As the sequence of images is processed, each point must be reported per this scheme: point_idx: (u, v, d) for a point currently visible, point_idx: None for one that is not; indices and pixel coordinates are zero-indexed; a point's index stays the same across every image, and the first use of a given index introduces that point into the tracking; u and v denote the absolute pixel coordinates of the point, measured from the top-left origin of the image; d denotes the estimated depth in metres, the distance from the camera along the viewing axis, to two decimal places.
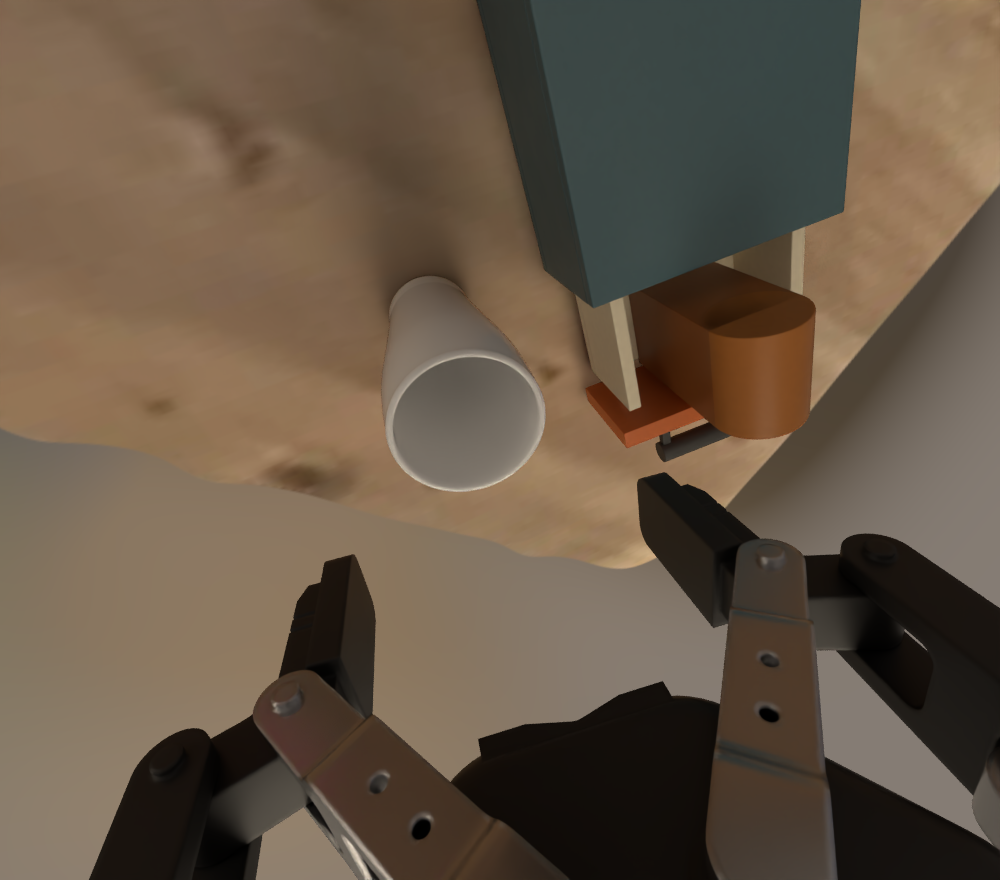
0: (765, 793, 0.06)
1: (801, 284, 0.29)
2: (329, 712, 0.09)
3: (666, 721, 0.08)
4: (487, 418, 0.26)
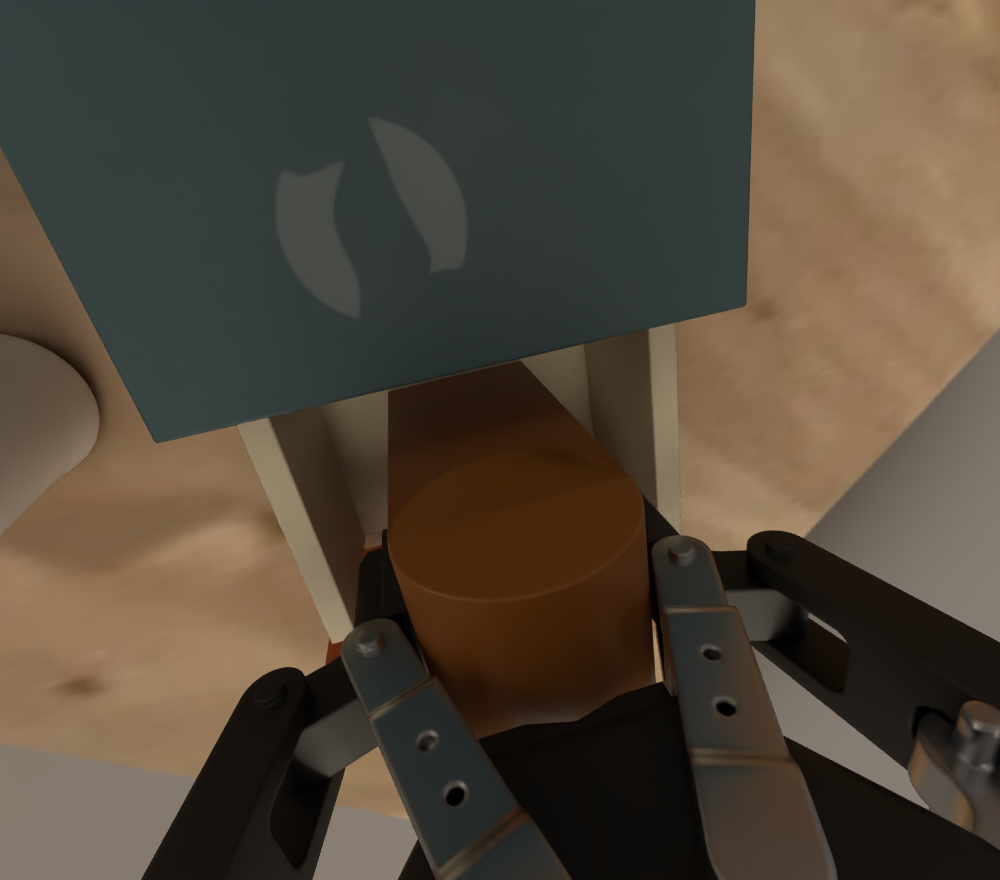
0: (748, 790, 0.06)
1: (675, 438, 0.15)
2: (401, 663, 0.09)
3: (666, 721, 0.08)
4: None
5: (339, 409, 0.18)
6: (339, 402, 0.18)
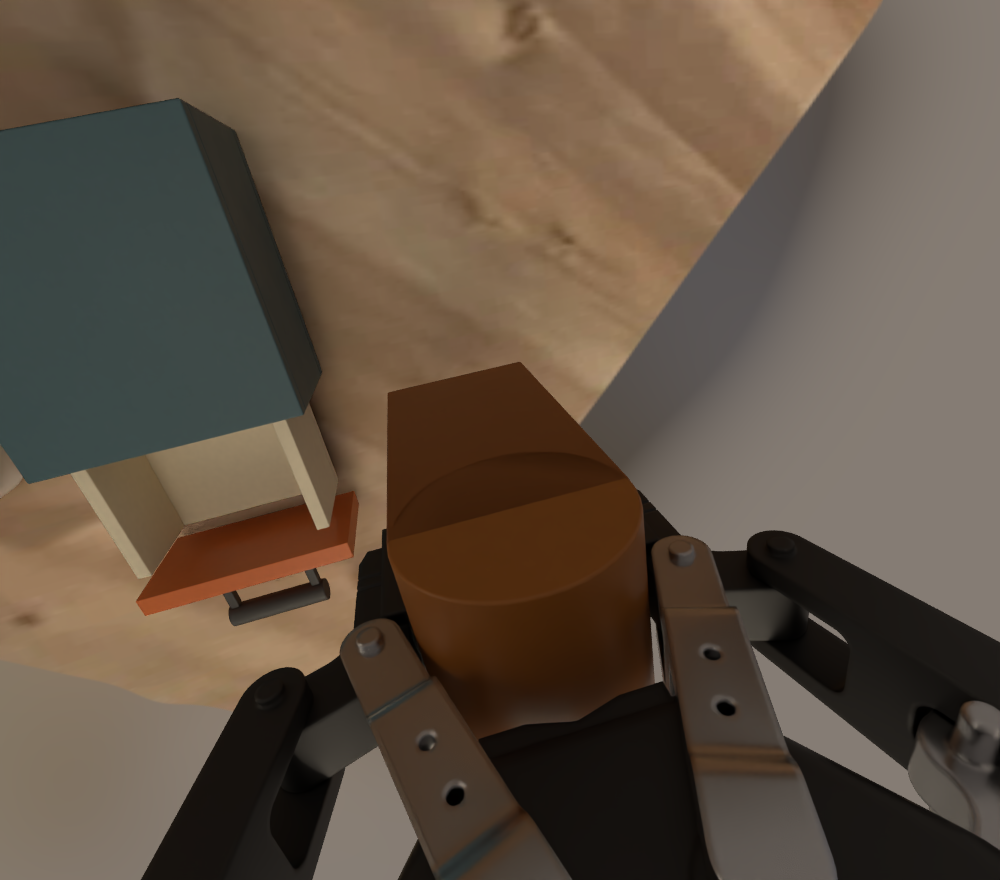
0: (748, 790, 0.06)
1: (305, 472, 0.30)
2: (402, 663, 0.09)
3: (666, 721, 0.08)
4: None
5: (156, 455, 0.33)
6: (156, 452, 0.33)
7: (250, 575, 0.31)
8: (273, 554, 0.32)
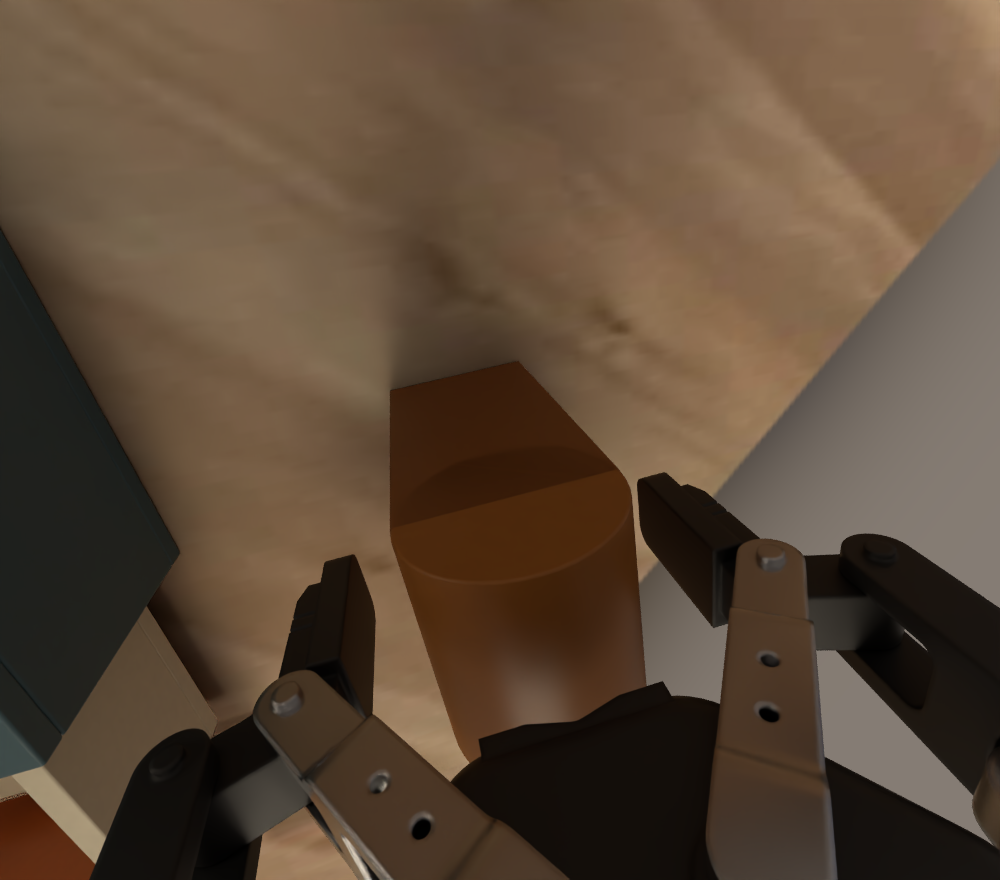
0: (765, 793, 0.06)
1: (89, 825, 0.14)
2: (329, 712, 0.09)
3: (666, 721, 0.08)
4: None
5: None
6: None
7: None
8: None
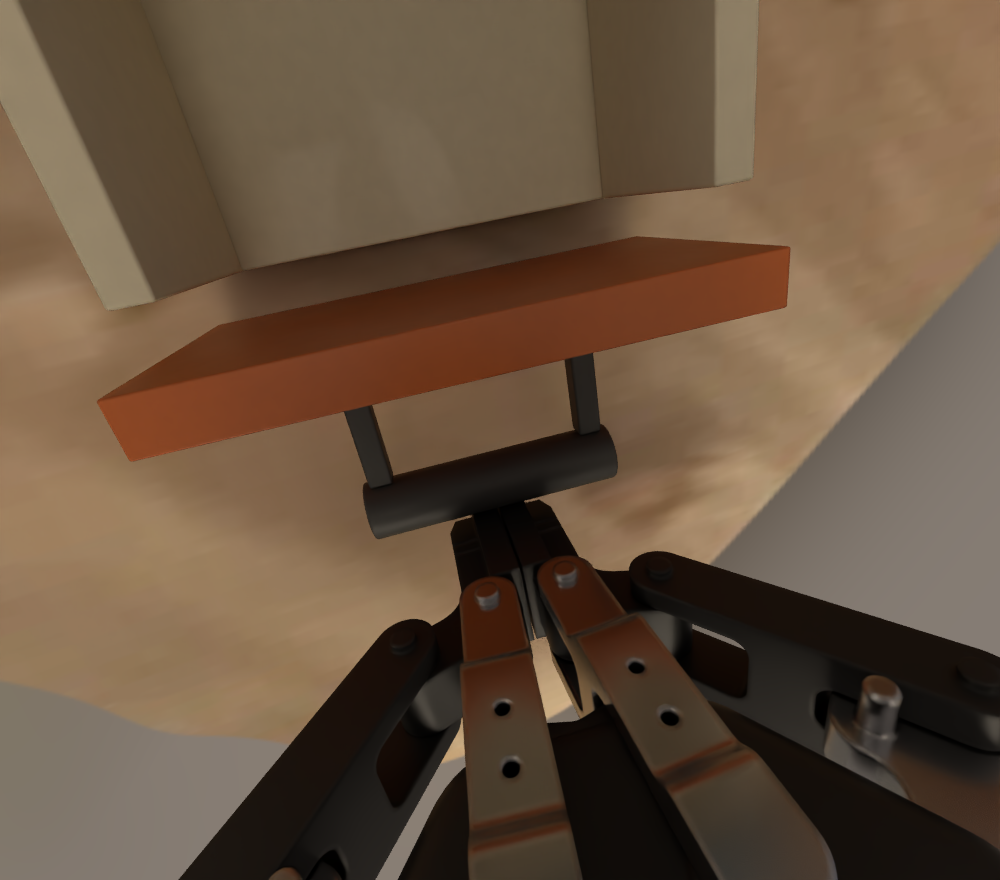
0: (726, 795, 0.06)
1: None
2: (508, 625, 0.10)
3: (666, 721, 0.08)
4: None
5: (175, 6, 0.11)
6: None
7: (487, 336, 0.09)
8: (541, 291, 0.10)
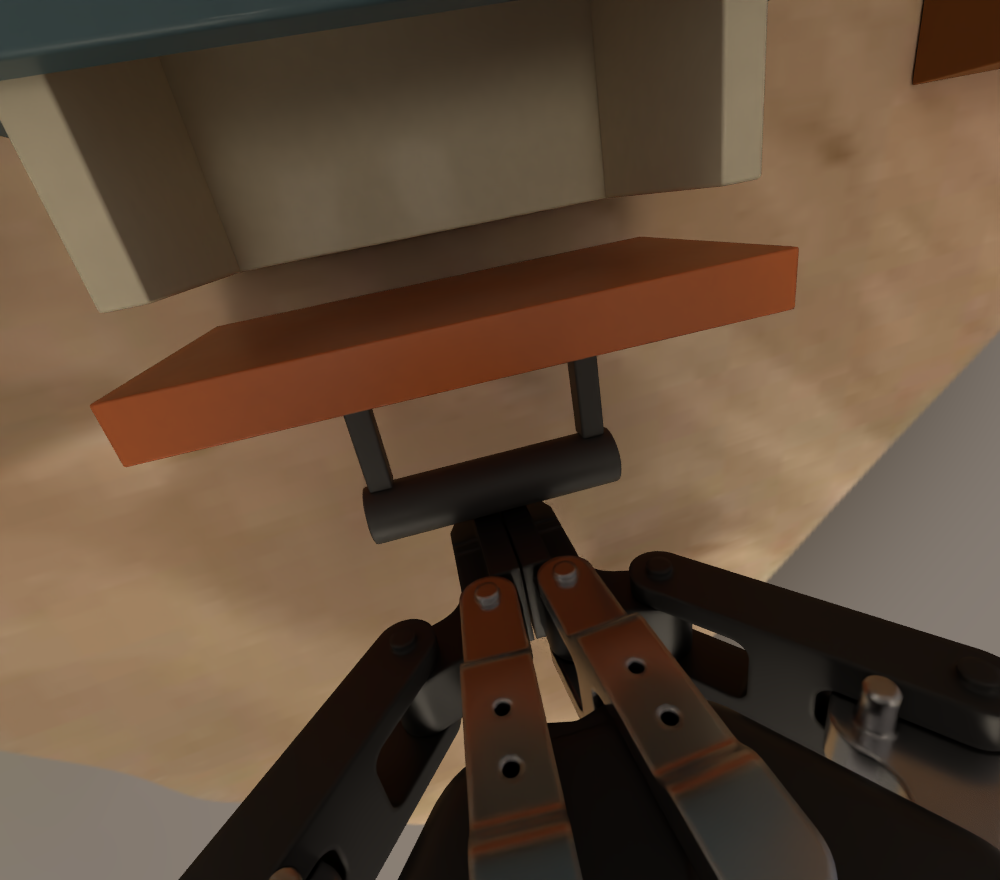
0: (726, 796, 0.06)
1: None
2: (508, 625, 0.10)
3: (666, 721, 0.08)
4: None
5: None
6: None
7: (489, 339, 0.09)
8: (544, 293, 0.10)
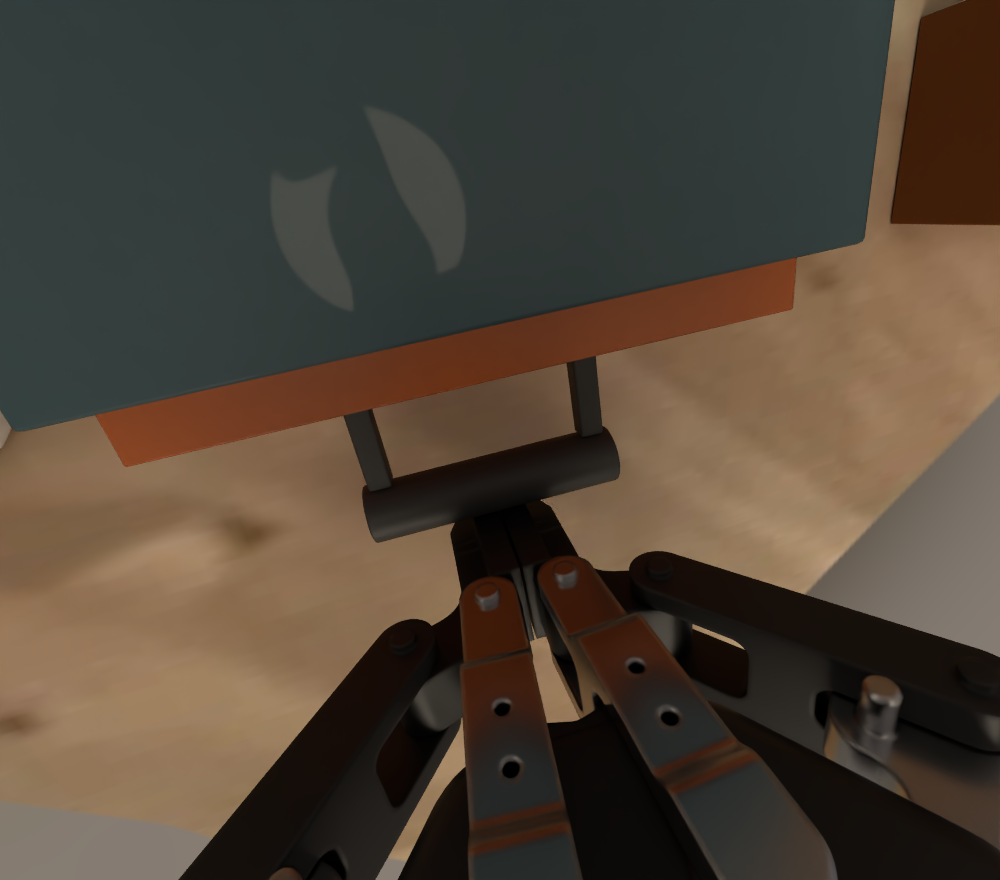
0: (726, 795, 0.06)
1: None
2: (508, 625, 0.10)
3: (666, 721, 0.08)
4: None
5: None
6: None
7: (488, 339, 0.09)
8: None
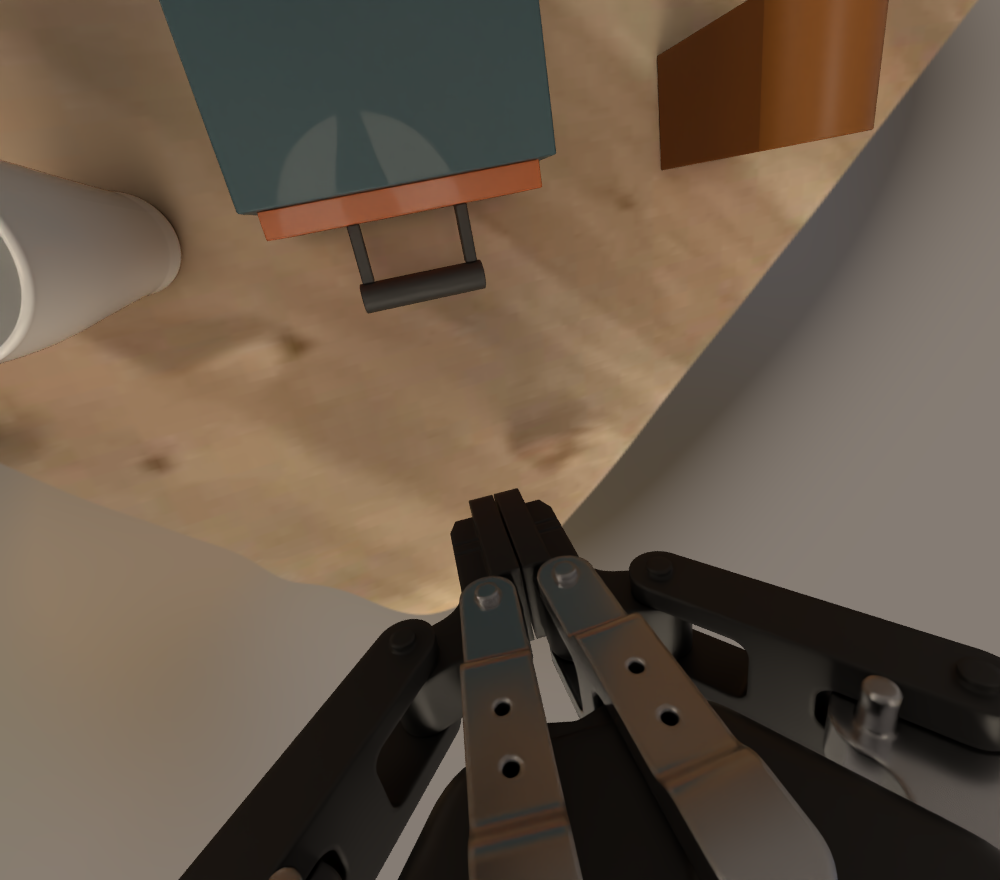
0: (726, 796, 0.06)
1: None
2: (508, 625, 0.10)
3: (666, 721, 0.08)
4: None
5: None
6: None
7: (409, 193, 0.23)
8: None
